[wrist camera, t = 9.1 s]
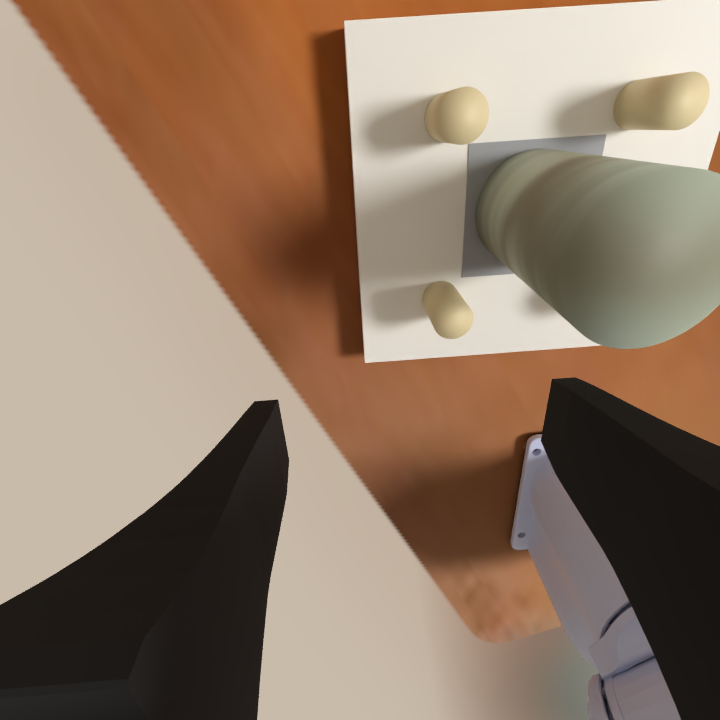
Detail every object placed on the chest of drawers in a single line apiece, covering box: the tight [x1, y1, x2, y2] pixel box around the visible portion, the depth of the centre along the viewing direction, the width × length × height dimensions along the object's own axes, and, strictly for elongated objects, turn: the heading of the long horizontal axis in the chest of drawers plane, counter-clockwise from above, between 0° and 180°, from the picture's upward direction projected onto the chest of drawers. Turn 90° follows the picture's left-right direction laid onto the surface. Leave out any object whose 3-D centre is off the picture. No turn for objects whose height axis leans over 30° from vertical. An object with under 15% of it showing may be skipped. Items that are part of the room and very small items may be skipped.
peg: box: [476, 149, 720, 349], centre depth 14 cm, size 4×4×8 cm
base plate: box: [344, 0, 720, 363], centre depth 17 cm, size 13×14×4 cm
